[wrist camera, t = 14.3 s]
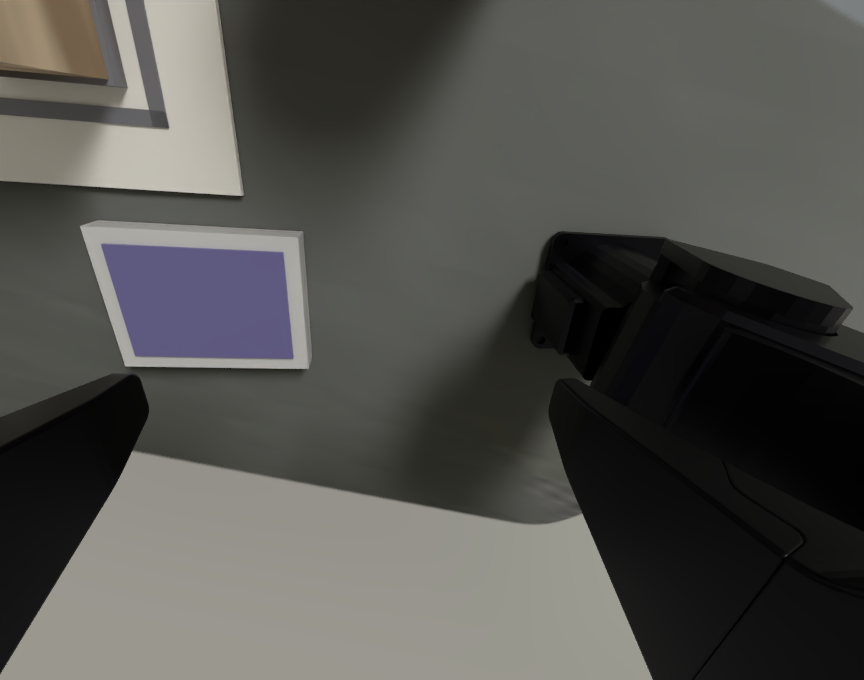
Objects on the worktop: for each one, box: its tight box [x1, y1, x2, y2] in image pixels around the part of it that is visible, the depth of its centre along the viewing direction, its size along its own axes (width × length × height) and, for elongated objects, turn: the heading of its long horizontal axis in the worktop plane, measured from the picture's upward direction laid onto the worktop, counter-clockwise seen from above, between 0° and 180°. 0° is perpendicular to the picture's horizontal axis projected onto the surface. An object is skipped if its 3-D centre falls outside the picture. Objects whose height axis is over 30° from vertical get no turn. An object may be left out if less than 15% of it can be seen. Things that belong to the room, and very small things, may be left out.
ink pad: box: [80, 220, 312, 369], centre depth 20 cm, size 9×7×1 cm
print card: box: [0, 0, 244, 196], centre depth 15 cm, size 12×12×1 cm
